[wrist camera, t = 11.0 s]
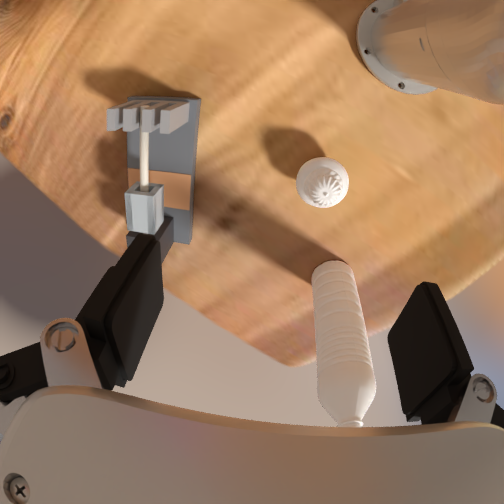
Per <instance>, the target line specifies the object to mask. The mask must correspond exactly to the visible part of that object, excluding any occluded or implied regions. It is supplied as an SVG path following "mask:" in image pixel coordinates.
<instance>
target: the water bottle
mask: <svg viewBox="0 0 504 504" xmlns="http://www.w3.org/2000/svg"><path fill="white" fill-rule="evenodd" d="M311 280H312V290H313V306H314V318H315V340H316V355H317V378H318V381H317V392H318V398H319V401H320V403H321V405H322V407H323V408H324V409H325V410H326V411H327V412H328V413H329V414H330V416H331V417H332V418H333V419H334V420H335V421H336V422H337V423H338V425H337V427H362V425H363V422H361V420H362V418H363V416H364V415H365V413H366V411H367V409H368V408H369V406H370V404H371V403H372V401H373V399H374V397H375V393H376V380H375V376H374V371H373V365H372V359H371V354H370V349H369V343H368V338H367V332H366V327H365V323H364V317H363V313H362V308H361V304H360V299H359V295H358V292H357V286H356V283H355V278H354V274H353V271H352V269H351V267H350V266H349V265H347V264H346V263H344V262H342V261H338V260H336V261H333V260H331V261H327V262H324V263H323V264H320V265H319V266H318V267H317V268H316V269H315V270H314V272H313V274H312V279H311Z"/></svg>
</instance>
